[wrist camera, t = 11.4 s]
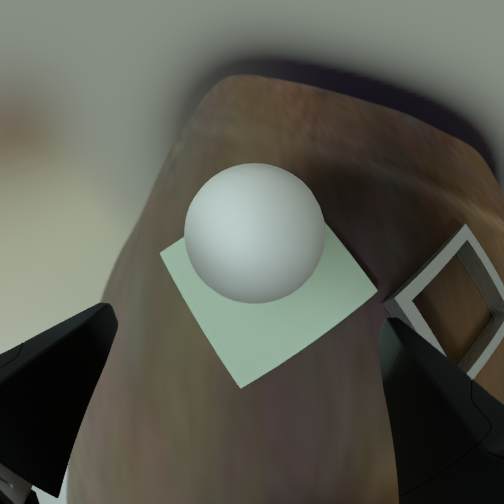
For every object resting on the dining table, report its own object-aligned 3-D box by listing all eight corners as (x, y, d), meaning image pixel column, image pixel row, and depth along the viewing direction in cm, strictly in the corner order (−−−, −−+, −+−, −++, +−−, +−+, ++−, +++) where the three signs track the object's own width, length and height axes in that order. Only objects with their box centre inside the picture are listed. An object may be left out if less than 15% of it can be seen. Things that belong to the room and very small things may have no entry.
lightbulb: (301, 231, 20) (316, 127, 10) (312, 312, 18) (353, 277, 8) (220, 240, 21) (167, 147, 10) (225, 321, 19) (159, 297, 8)
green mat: (374, 293, 19) (377, 291, 18) (241, 386, 18) (240, 388, 17) (283, 179, 23) (283, 174, 22) (163, 256, 22) (159, 253, 21)
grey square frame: (501, 317, 16) (517, 313, 14) (440, 395, 15) (456, 399, 13) (451, 234, 20) (465, 223, 17) (381, 303, 19) (394, 297, 16)
